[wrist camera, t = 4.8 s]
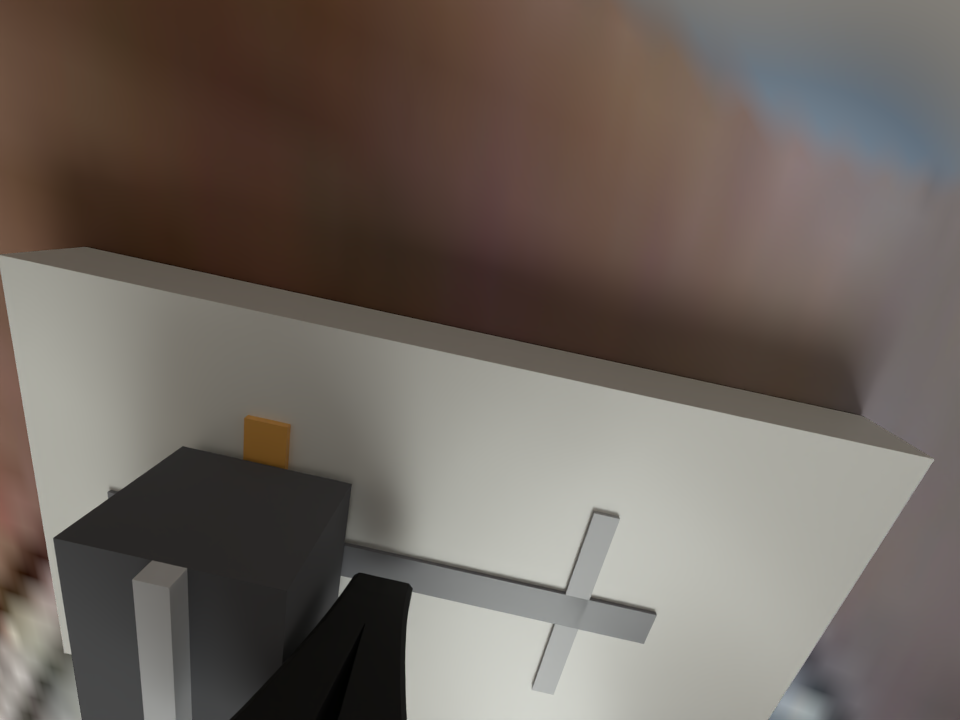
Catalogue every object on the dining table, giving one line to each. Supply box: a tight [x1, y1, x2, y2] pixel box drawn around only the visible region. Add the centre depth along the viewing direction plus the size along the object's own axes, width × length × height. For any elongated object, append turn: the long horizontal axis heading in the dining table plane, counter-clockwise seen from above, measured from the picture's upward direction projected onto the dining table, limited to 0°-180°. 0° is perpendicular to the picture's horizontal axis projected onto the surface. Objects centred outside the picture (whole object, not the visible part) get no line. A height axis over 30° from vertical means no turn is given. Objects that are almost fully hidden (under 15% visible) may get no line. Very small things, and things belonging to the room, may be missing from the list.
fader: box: [53, 446, 352, 720], centre depth 9 cm, size 4×5×3 cm
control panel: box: [0, 247, 935, 720], centre depth 12 cm, size 20×12×2 cm, turn 78°
